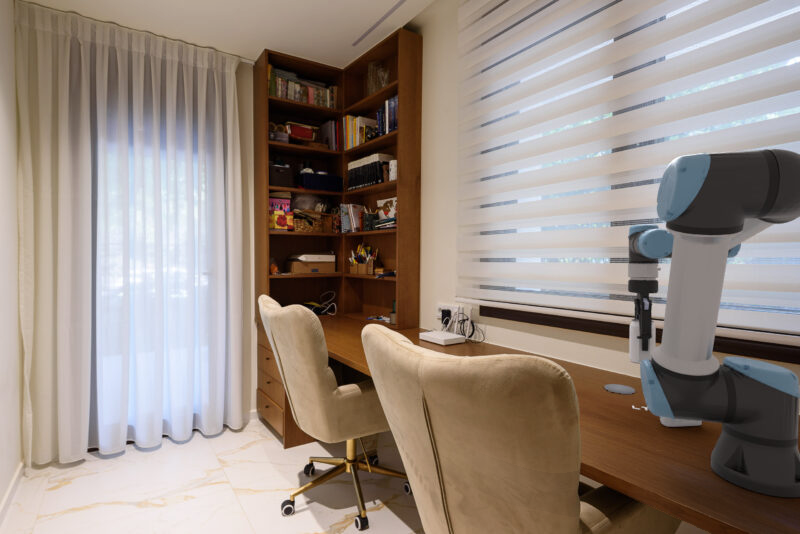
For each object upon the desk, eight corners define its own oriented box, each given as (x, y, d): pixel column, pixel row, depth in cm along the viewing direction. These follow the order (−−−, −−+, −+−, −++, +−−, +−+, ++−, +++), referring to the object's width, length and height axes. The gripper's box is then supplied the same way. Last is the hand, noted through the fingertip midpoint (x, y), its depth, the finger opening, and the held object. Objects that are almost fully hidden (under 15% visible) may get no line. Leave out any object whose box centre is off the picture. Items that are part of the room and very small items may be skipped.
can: (631, 363, 121) (632, 321, 120) (627, 358, 127) (627, 318, 127) (657, 365, 119) (658, 322, 119) (651, 360, 125) (652, 319, 125)
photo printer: (691, 419, 115) (692, 374, 115) (705, 426, 111) (706, 379, 111) (656, 422, 114) (657, 376, 113) (669, 428, 110) (670, 381, 109)
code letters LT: (650, 410, 122) (650, 410, 122) (633, 408, 123) (633, 408, 123) (649, 407, 124) (649, 407, 124) (631, 405, 126) (631, 405, 126)
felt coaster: (637, 395, 134) (637, 394, 134) (605, 392, 138) (605, 390, 138) (633, 387, 143) (633, 385, 143) (603, 384, 146) (603, 382, 146)
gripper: (665, 280, 112) (664, 368, 112) (652, 277, 130) (651, 353, 130) (632, 280, 115) (631, 365, 115) (624, 277, 133) (623, 351, 133)
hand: (642, 359), depth 123 cm, fingers closed on can, 6 cm apart
